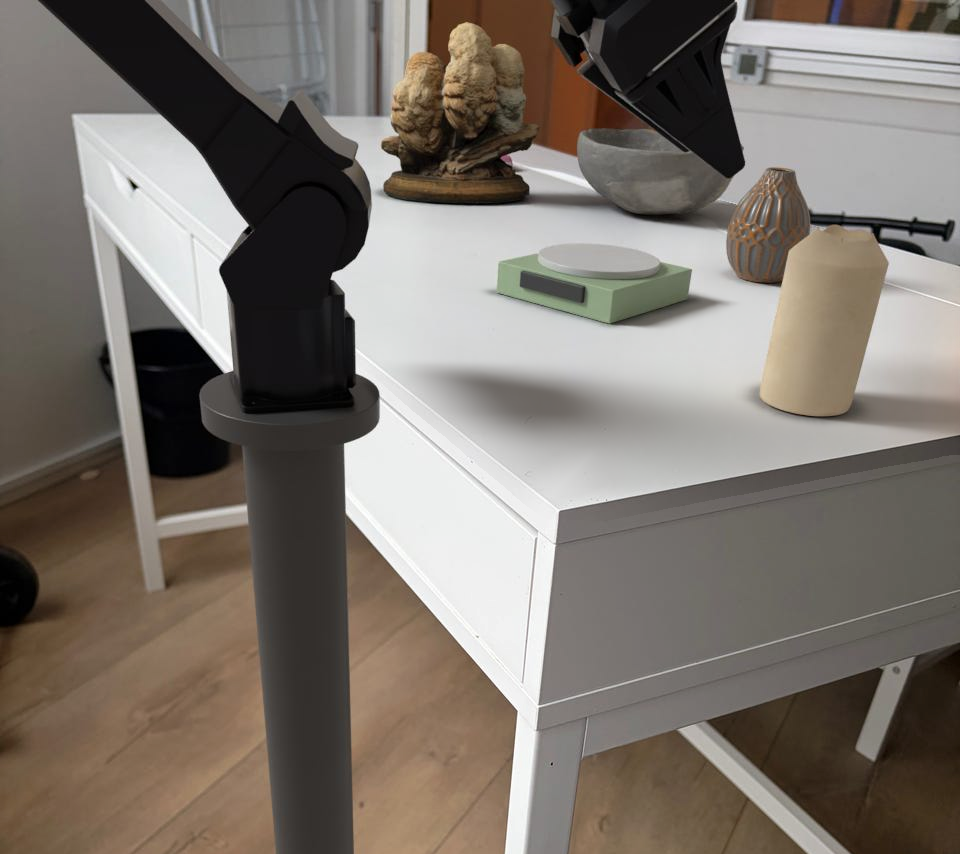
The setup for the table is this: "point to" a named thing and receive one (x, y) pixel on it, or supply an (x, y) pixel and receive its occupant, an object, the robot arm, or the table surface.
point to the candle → (823, 321)
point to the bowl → (646, 172)
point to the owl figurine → (460, 123)
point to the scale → (594, 280)
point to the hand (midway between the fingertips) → (713, 159)
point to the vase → (767, 227)
